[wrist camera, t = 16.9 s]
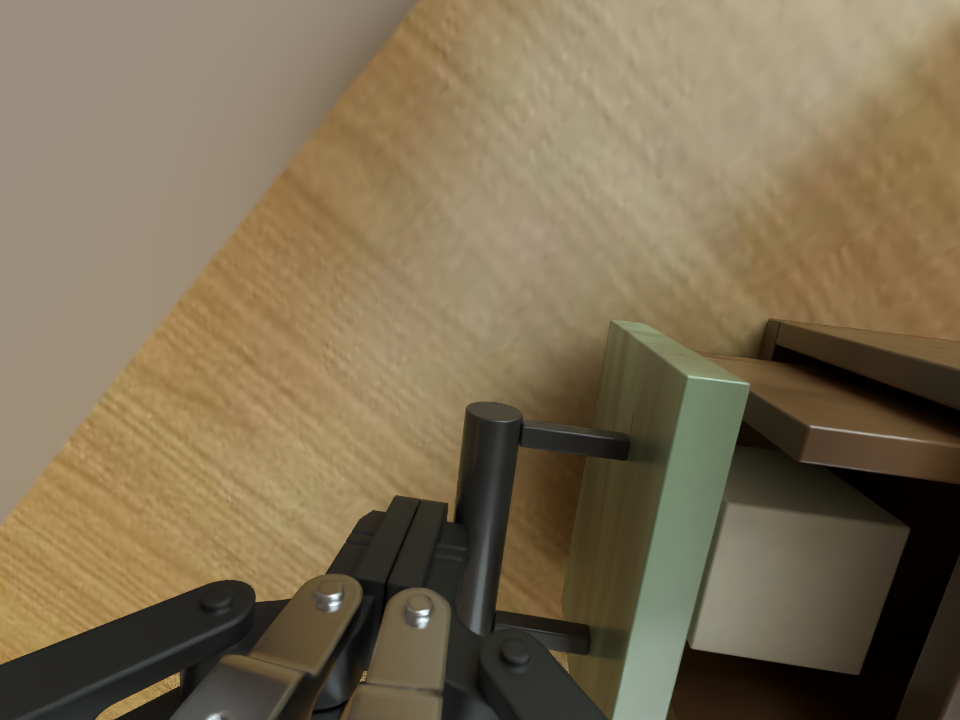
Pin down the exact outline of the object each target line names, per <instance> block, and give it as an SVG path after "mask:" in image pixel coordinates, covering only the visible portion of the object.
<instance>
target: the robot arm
mask: <svg viewBox="0 0 960 720" xmlns="http://www.w3.org/2000/svg"><path fill="white" fill-rule="evenodd" d="M447 514H448V503H443V502H437V501H431V500H424V499H423V500H422V501H421V499H417V498H411V497H404V496H398V495H395V497H394V498H393V500H392V502H391V504H390V506H389V507H388V509H387V511H386V512H382V511H375V510H373V511H371V512H370V513H368V514H367V515H365V516H364V517H362V518H361V519H359V521H358V523H357V524H356V526H355V527H354V529H353V531H352V533H351V534H350V535H349V537H348V539H347V540H346V543H344V545H343V547H342V548H341V550H340V551H339V553H338V555H337V556H336V558H335V559H334V561H333V563H332V564H331V566H330V567H329V569H328V571H327V572H326V574H325V575H321V576H318V577H315V578H313V579H311V580H309V581H307V582H306V583H305V584H304V585H302V587H301V588H300V589H299V590H298V591H297V592H296V594H295V595H294V596H293V598H291V599H286V600H277V601H264V602H255V600H256V595H255V591H254V590H253V588H252V587H251V586H250V585H248V584H247V583H244V582H242V581H237V580H223V581H217V582H213V583H210V584H207V585H204V586H201V587H199V588H196V589H194V590H191V591H189V592H186V593H183V594H181V595H178V596H176V597H173V598H171V599H168V600H165V601H163V602H160V603H158V604H155V605H153V606H150V607H147V608H145V609H142V610H140V611H137V612H135V613H132V614H130V615H127V616H124V617H122V618H119V619H117V620H114V621H112V622H109V623H106V624H104V625H101V626H99V627H96V628H94V629H91V630H89V631H86V632H83V633H81V634H78V635H76V636H73V637H71V638H68V639H65V640H63V641H60V642H58V643H55V644H53V645H50V646H47V647H45V648H42V649H40V650H37V651H35V652H32V653H30V654H27V655H24V656H22V657H19V658H17V659H14V660H12V661H9V662H6V663H4V664H1V665H0V720H95V719H96V717H97V716H98V715H99V714H100V713H101V712H103V711H104V710H105V709H106V708H108V707H109V706H111V705H113V704H115V703H117V702H119V701H121V700H123V699H125V698H127V697H129V696H131V695H133V694H135V693H137V692H139V691H141V690H143V689H145V688H147V687H149V686H151V685H153V684H155V683H157V682H159V681H161V680H163V679H165V678H167V677H169V676H172V675H174V674H176V673H178V672H180V686H179V687H177V688H175V689H173V690H171V691H169V692H167V693H165V694H163V695H161V696H159V697H157V698H155V699H153V700H151V701H150V702H148V703H146V704H144V705H142V706H140V707H138V708H136V709H134V710H132V711H130V712H128V713H126V714H124V715H122V716H120V717H118V718H116V719H114V720H609V719H608V718H607V717H606V716H605V715H604V713H603V712H602V711H601V710H600V709H599V708H598V707H597V705H596V704H595V703H594V702H593V701H592V700H591V699H590V697H589V696H588V695H587V694H586V693H585V692H584V691H583V690H582V688H581V687H580V686H579V685H578V684H577V683H576V682H575V680H574V679H573V678H572V677H571V676H570V675H569V674H568V672H567V671H566V670H565V669H564V668H563V667H562V666H561V665H560V663H559V662H558V661H557V660H556V659H555V658H554V657H553V655H552V654H551V653H550V652H549V651H548V650H547V649H546V648H545V646H544V645H543V644H542V643H541V642H540V641H539V640H538V639H537V638H535V637H534V636H532V635H530V634H529V633H527V632H524V631H521V630H517V629H500V630H496V631H494V632H492V633H490V634H489V635H488V636H486V637H482V636H480V635H478V634H476V633H474V632H473V631H471V630H470V629H468V628H467V627H466V626H465V625H464V624H463V623H462V622H461V620H460V619H459V617H458V615H457V610H458V605H459V599H460V594H461V589H462V584H463V576H464V568H465V560H466V552H467V544H468V534H467V532H466V530H465V527H464V525H463V524H458V523H452V522H447ZM363 671H367V675H366V678H365V681H364V682H360V679H361V677H362V674H363Z"/></svg>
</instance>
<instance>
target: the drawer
mask: <svg viewBox="0 0 960 720" xmlns="http://www.w3.org/2000/svg"><path fill="white" fill-rule="evenodd" d="M522 418H523V415H522V413H521V411H519V410H518V409H516V408H514V407H512V406H509V405H506V404H502V403H497V402H476V403H472V404H469V405H468V406H467V407H466V411H465V420H464V429H463V438H462V447H461V456H460V464H459V473H458V482H457V491H456V500H455V509H454V518H453V523H458V524H463V525H464V527H465V530H466V532H467V534H468V544H467V552H466V560H465V568H464V576H463V584H462V589H461V594H460V599H459V605H458V610H457V615H458V617H459V619H460V620H461V622H462V623H463V624H464V625H465V626H466V627H467V628H468V629H470V630H471V631H473V632H474V633H476V634H478V635H480V636H482V637H486V636H488V635H489V634H490V633H492V632H494V631H496V630H500V629H517V630H521V631H524V632H527V633H529V634H530V635H532V636H534V637H535V638H537V639H538V640H539V641H540V642H541V643H542V644H543V645H544V646H545V648H546V649H548V650H554V651H560V652H566V653H567V658H568V667H569V675H570V676H571V677H572V678H573V679H574V680H575V682H576V683H577V684H578V685H579V686H580V687H581V688H582V690H583V691H584V692H585V693H586V694H587V695H588V696H589V697H590V699H591V700H592V701H593V702H594V703H595V704H596V705H597V707H598V708H599V709H600V710H601V711H602V712H603V713H604V715H605V716H606V717H607V718H608V719H609V720H895V718H896V716H897V713H898V711H899V708H900V706H901V703H902V700H903V698H904V695H905V693H906V690H907V688H908V685H909V682H910V680H911V677H912V675H913V672H914V670H915V667H916V665H917V662H918V659H919V657H920V654H921V652H922V649H923V647H924V644H925V641H926V639H927V636H928V634H929V631H930V629H931V626H932V624H933V621H934V618H935V616H936V613H937V611H938V608H939V606H940V603H941V600H942V598H943V595H944V593H945V590H946V588H947V585H948V583H949V580H950V577H951V575H952V572H953V570H954V567H955V565H956V562H957V559H958V557H959V554H960V411H959V410H956V409H953V408H950V407H948V406H945V405H942V404H939V403H937V402H934V401H931V400H928V399H925V398H923V397H920V396H917V395H914V394H912V393H909V392H906V391H903V390H901V389H898V388H895V387H892V386H889V385H887V384H884V383H881V382H878V381H876V380H873V379H870V378H867V377H864V376H862V375H859V374H856V373H853V372H851V371H847V370H839V369H831V368H824V367H816V366H808V365H800V364H792V363H784V362H776V361H768V360H760V359H752V358H744V357H736V356H728V355H720V354H712V353H704V352H696V351H692V350H690V349H688V348H687V347H685V346H683V345H681V344H680V343H678V342H676V341H674V340H673V339H671V338H669V337H668V336H666V335H664V334H662V333H661V332H659V331H657V330H655V329H654V328H652V327H650V326H648V325H647V324H645V323H639V322H631V321H622V320H614V319H612V320H611V321H610V326H609V332H608V337H607V343H606V349H605V354H604V360H603V366H602V371H601V377H600V382H599V388H598V394H597V399H596V405H595V411H594V416H593V422H592V428H586V427H579V426H572V425H564V424H557V423H550V422H542V421H535V420H528V419H523V420H522ZM519 444H520V446H521V447H527V448H534V449H541V450H548V451H556V452H563V453H570V454H577V455H584V456H586V461H585V467H584V473H583V478H582V484H581V490H580V495H579V501H578V507H577V512H576V518H575V524H574V529H573V535H572V540H571V546H570V552H569V557H568V563H567V569H566V574H565V580H564V586H563V591H562V597H561V605H562V614H563V621H562V620H556V619H550V618H544V617H537V616H531V615H525V614H519V613H512V612H506V611H500V610H496V611H495V609H496V602H497V595H498V588H499V581H500V574H501V567H502V560H503V553H504V546H505V539H506V532H507V525H508V517H509V510H510V503H511V496H512V489H513V482H514V475H515V468H516V461H517V454H518V447H519ZM735 445H740V446H748V447H755V448H763V449H770V450H778V451H784V452H786V453H787V454H788V455H790V456H791V457H792V458H793V459H795V460H796V461H798V462H800V463H808V464H815V465H822V466H824V467H825V468H827V469H828V470H829V471H831V472H832V473H834V474H835V475H837V476H838V477H839V478H841V479H842V480H844V481H845V482H846V483H848V484H849V485H851V486H852V487H853V488H855V489H856V490H858V491H859V492H861V493H862V494H863V495H865V496H866V497H868V498H869V499H870V500H872V501H873V502H875V503H876V504H878V505H879V506H880V507H882V508H883V509H885V510H886V511H887V512H889V513H890V514H892V515H893V516H895V517H896V518H897V519H899V520H900V521H902V522H903V523H904V524H906V525H907V526H909V527H910V530H911V531H910V534H909V536H908V539H907V542H906V545H905V548H904V551H903V553H902V556H901V559H900V562H899V565H898V567H897V570H896V573H895V576H894V579H893V582H892V584H891V587H890V590H889V593H888V596H887V598H886V601H885V604H884V607H883V610H882V613H881V615H880V618H879V621H878V624H877V627H876V629H875V632H874V635H873V638H872V641H871V644H870V646H869V649H868V652H867V655H866V658H865V660H864V663H863V666H862V669H861V672H860V674H859V675H853V674H847V673H841V672H835V671H828V670H822V669H816V668H809V667H803V666H797V665H790V664H784V663H778V662H771V661H765V660H759V659H753V658H746V657H740V656H734V655H727V654H721V653H715V652H708V651H702V650H696V649H692V648H691V647H690V646H689V643H688V641H687V639H686V638H687V634H688V630H689V626H690V622H691V619H692V615H693V611H694V607H695V603H696V599H697V595H698V591H699V587H700V583H701V579H702V575H703V571H704V567H705V563H706V559H707V555H708V551H709V547H710V543H711V539H712V536H713V532H714V528H715V524H716V520H717V516H718V512H719V508H720V504H721V500H722V496H723V492H724V488H725V484H726V480H727V476H728V472H729V468H730V464H731V460H732V456H733V452H734V449H735Z"/></svg>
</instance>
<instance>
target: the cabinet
mask: <svg viewBox="0 0 960 720" xmlns="http://www.w3.org/2000/svg"><path fill="white" fill-rule="evenodd" d="M759 359H760V360H768V361H776V362H784V363H792V364H800V365H808V366H816V367H824V368H831V369H839V370H847V371H851V372H853V373H856V374H859V375H862V376H864V377H867V378H870V379H873V380H876V381H878V382H881V383H884V384H887V385H889V386H892V387H895V388H898V389H901V390H903V391H906V392H909V393H912V394H914V395H917V396H920V397H923V398H925V399H928V400H931V401H934V402H937V403H939V404H942V405H945V406H948V407H950V408H953V409H956V410H959V411H960V341H951V340H943V339H935V338H926V337H918V336H910V335H902V334H893V333H885V332H877V331H868V330H860V329H852V328H844V327H835V326H827V325H819V324H810V323H802V322H794V321H786V320H777V319H769V321H768V325H767V329H766V333H765V337H764V341H763V345H762V349H761V353H760V357H759ZM895 720H960V554H959V557H958V559H957V562H956V565H955V567H954V570H953V572H952V575H951V577H950V580H949V583H948V585H947V588H946V590H945V593H944V595H943V598H942V600H941V603H940V606H939V608H938V611H937V613H936V616H935V618H934V621H933V624H932V626H931V629H930V631H929V634H928V636H927V639H926V641H925V644H924V647H923V649H922V652H921V654H920V657H919V659H918V662H917V665H916V667H915V670H914V672H913V675H912V677H911V680H910V682H909V685H908V688H907V690H906V693H905V695H904V698H903V700H902V703H901V706H900V708H899V711H898V713H897V716H896V718H895Z"/></svg>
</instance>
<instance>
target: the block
mask: <svg viewBox="0 0 960 720" xmlns="http://www.w3.org/2000/svg"><path fill="white" fill-rule="evenodd" d="M910 531H911V530H910V527H909V526H907V525H906V524H904V523H903V522H902V521H900V520H899V519H897V518H896V517H895V516H893V515H892V514H890V513H889V512H887V511H886V510H885V509H883V508H882V507H880V506H879V505H878V504H876V503H875V502H873V501H872V500H870V499H869V498H868V497H866V496H865V495H863V494H862V493H861V492H859V491H858V490H856V489H855V488H853V487H852V486H851V485H849V484H848V483H846V482H845V481H844V480H842V479H841V478H839V477H838V476H837V475H835V474H834V473H832V472H831V471H829V470H828V469H827V468H825V467H824V466H822V465H815V464H808V463H800V462H798V461H796V460H795V459H793V458H792V457H791V456H790V455H788V454H787V453H786V452H784V451H778V450H770V449H763V448H755V447H748V446H740V445H735V449H734V452H733V456H732V460H731V464H730V468H729V472H728V476H727V480H726V484H725V488H724V492H723V496H722V500H721V504H720V508H719V512H718V516H717V520H716V524H715V528H714V532H713V536H712V539H711V543H710V547H709V551H708V555H707V559H706V563H705V567H704V571H703V575H702V579H701V583H700V587H699V591H698V595H697V599H696V603H695V607H694V611H693V615H692V619H691V622H690V626H689V630H688V634H687V638H686V639H687V641H688V643H689V646H690V647H691V648H692V649H696V650H702V651H708V652H715V653H721V654H727V655H734V656H740V657H746V658H753V659H759V660H765V661H771V662H778V663H784V664H790V665H797V666H803V667H809V668H816V669H822V670H828V671H835V672H841V673H847V674H853V675H859V674H860V672H861V669H862V666H863V663H864V660H865V658H866V655H867V652H868V649H869V646H870V644H871V641H872V638H873V635H874V632H875V629H876V627H877V624H878V621H879V618H880V615H881V613H882V610H883V607H884V604H885V601H886V598H887V596H888V593H889V590H890V587H891V584H892V582H893V579H894V576H895V573H896V570H897V567H898V565H899V562H900V559H901V556H902V553H903V551H904V548H905V545H906V542H907V539H908V536H909V534H910Z"/></svg>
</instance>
